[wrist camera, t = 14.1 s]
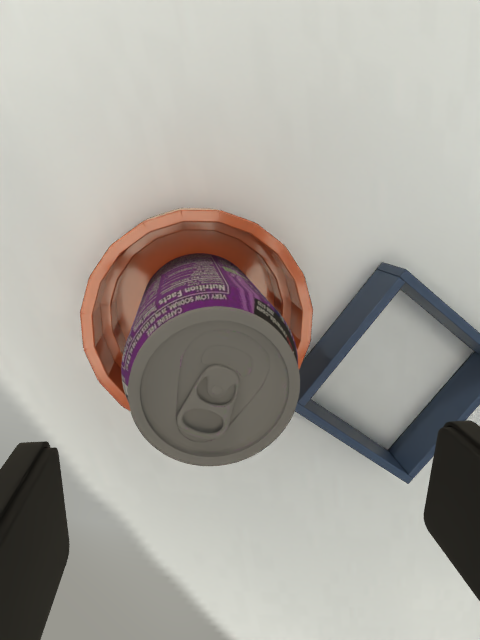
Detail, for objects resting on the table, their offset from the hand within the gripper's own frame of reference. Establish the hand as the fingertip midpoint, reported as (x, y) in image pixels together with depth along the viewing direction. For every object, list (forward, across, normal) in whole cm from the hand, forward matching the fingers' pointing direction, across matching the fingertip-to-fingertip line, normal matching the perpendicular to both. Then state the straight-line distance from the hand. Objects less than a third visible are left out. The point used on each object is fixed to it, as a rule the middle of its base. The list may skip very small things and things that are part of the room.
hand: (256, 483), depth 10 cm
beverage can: (+17, +1, 0) cm, 17 cm away
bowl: (+17, +1, 0) cm, 17 cm away
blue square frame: (+18, -13, +5) cm, 22 cm away
